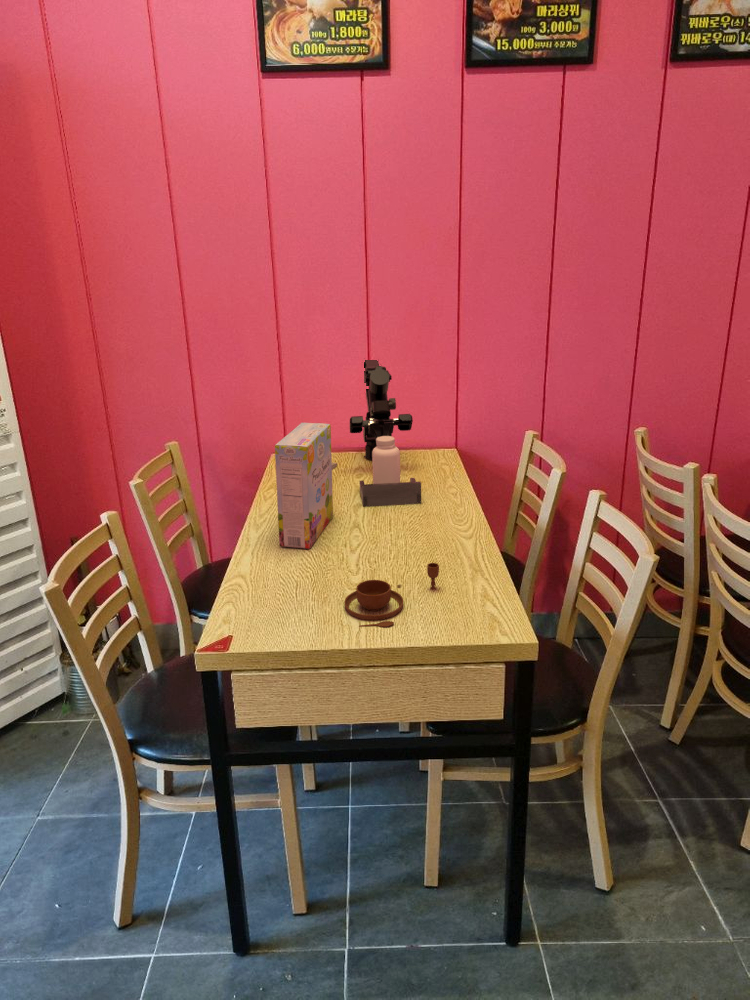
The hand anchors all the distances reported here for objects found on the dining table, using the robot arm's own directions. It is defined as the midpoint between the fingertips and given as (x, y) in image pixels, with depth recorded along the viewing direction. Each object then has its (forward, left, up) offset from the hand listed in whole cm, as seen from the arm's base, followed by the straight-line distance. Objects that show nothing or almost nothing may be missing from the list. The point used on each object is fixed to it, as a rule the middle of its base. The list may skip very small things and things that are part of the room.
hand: (383, 448), depth 221 cm
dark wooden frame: (+8, +14, -10) cm, 18 cm away
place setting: (+44, +65, -10) cm, 79 cm away
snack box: (+39, +21, -10) cm, 45 cm away
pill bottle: (+4, +7, -10) cm, 13 cm away
